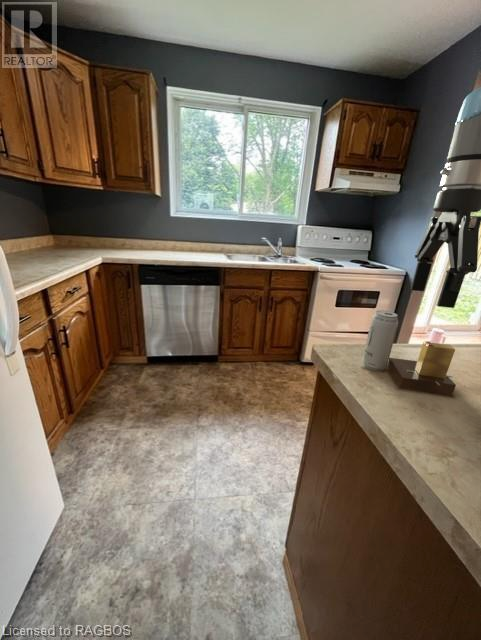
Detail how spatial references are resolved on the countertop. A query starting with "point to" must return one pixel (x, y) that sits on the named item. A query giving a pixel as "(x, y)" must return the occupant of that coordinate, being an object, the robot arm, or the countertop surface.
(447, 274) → the robot arm
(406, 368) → the plate
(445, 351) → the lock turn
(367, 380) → the countertop surface
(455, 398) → the countertop surface
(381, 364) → the energy drink can
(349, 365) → the countertop surface
